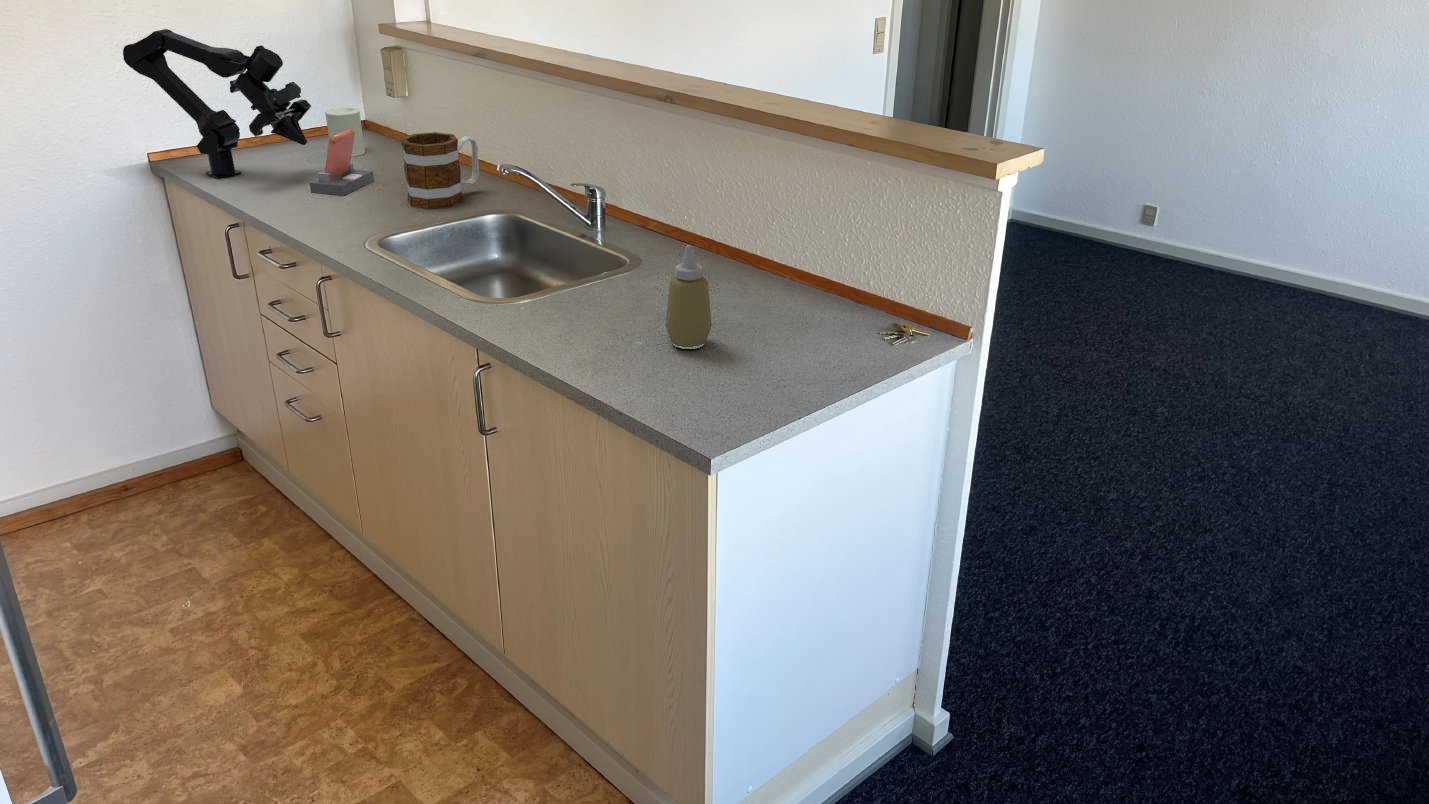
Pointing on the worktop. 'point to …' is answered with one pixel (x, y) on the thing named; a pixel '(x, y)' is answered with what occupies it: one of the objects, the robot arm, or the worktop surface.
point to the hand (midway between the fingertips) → (305, 143)
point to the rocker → (339, 153)
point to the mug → (436, 169)
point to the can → (346, 126)
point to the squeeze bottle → (688, 303)
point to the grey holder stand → (341, 182)
